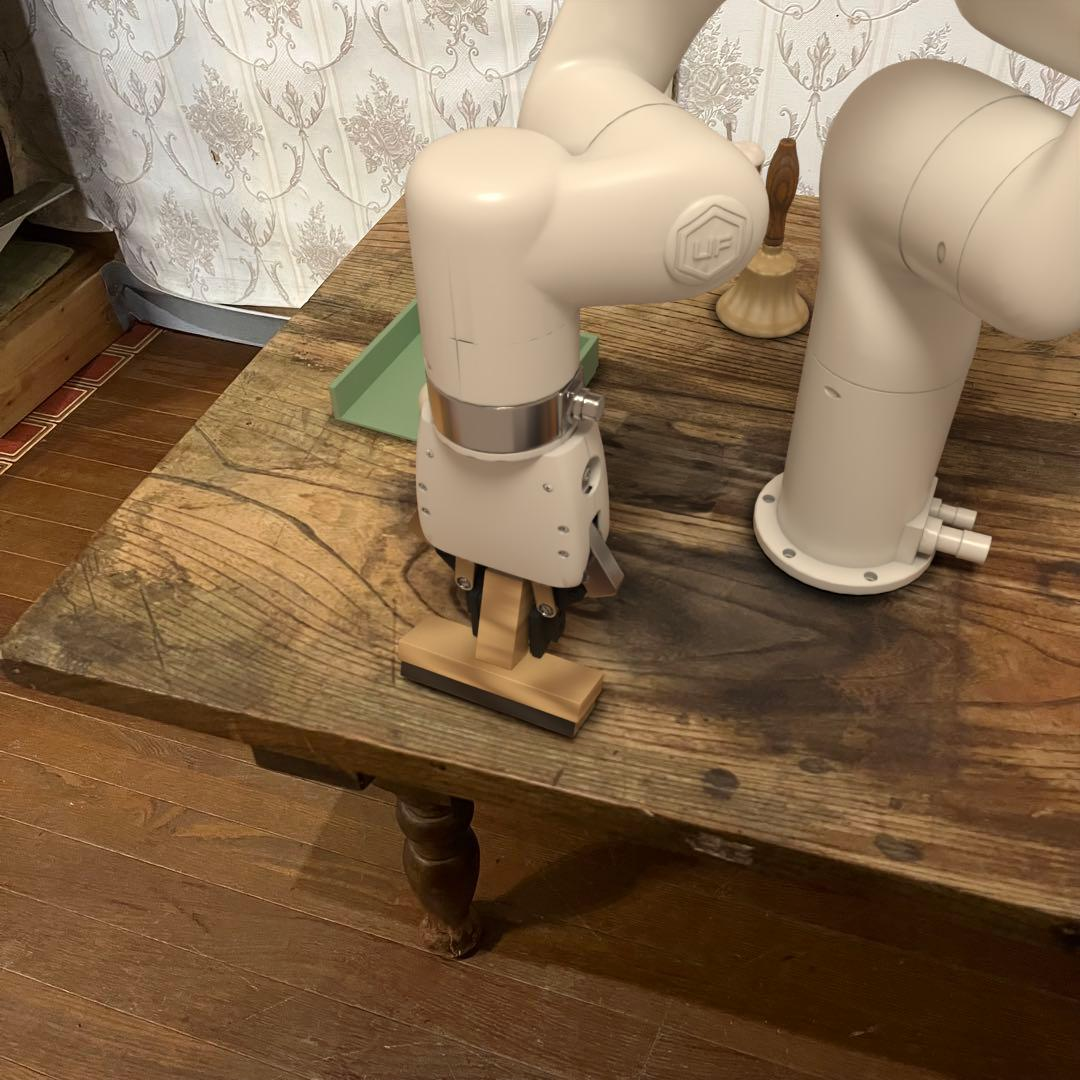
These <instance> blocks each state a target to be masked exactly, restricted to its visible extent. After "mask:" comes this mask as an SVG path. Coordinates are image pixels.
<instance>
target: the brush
mask: <svg viewBox="0 0 1080 1080" xmlns="http://www.w3.org/2000/svg"><path fill="white" fill-rule="evenodd" d="M534 604H535V596H534V591H533V586H532V581H531V580H528V579H525V578H522V577H519V576H515V575H512V574H509V573H506V572H503V571H500V570H497V569H493V568H490V567H488V568H487V569H486V570H485V577H484V585H483V594H482V603H481V611H480V620H479V629H478V637H476V636H474V635H473V632H472V626H468V625H464V624H462V623H459V622H456V621H453V620H451V619H447V618H444V617H441V616H438V615H435V614H433V613H429V614H428V615H427V616H426V617H425V618H423V619H422V620H421V621H420V622H418V624H416V625H415V626H413V628H411V629H410V630H408V632H406V633H405V634H404V635H403V636H402V637H401V638H399V640H398V643H397V656H396V659H397V660H398V661H400V673H399V675H400V676H401V677H403V678H407V679H409V680H412V681H415V682H417V683H421V684H422V685H425V686H429V687H431V688H434V689H436V690H439V691H441V692H445V693H448V694H451V695H454V696H456V697H459V698H462V699H465V700H468V701H470V702H472V703H476V704H478V705H481V706H484V707H486V708H490V709H492V710H494V711H498V712H501V713H502V714H503V713H504V714H506V715H509V716H511V717H515V718H516V719H520V720H523V721H526V722H528V723H531V724H534V725H536V726H539V727H542V728H544V729H547V730H550V731H553V732H556V733H559V734H561V735H564V736H567V737H569V738H573V737H575V735H576V734H577V732H578V731H579V730H580V728H581V727H582V725H583V724H584V723H585V721H586V720H587V719H588V717H589V716H590V715H591V713H592V711H594V709H595V705H596V700H597V698H598V696H599V695H600V693H601V692H602V688H603V684H604V679H605V678H604V677H605V672H604V671H602V670H598V669H595V668H592V667H589V666H587V665H583V664H582V663H579V662H574V661H572V660H569V659H566V658H563V657H560V656H557V655H554V654H551V653H548V652H545V653H544V654H543V656H542V658H537V657H534V656H532V653H530V646H529V623H528V615H529V612H530V610H531V609H532V607H533V605H534Z"/></svg>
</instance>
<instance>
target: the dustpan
mask: <svg viewBox="0 0 1080 1080" xmlns="http://www.w3.org/2000/svg"><path fill="white" fill-rule="evenodd" d="M599 353H600V336H599V335H597V334H593V333H588V332H585V331H580V365H581V366H584V375H583V381H584V384H585V386H586V387H587V386H588V384H589V383H590V382H591V380H592V378H593V377H594V376H595V374H596V373H597V368H598V367H599V363H600V362H599V361H600V359H599V355H600V354H599ZM426 383H427V381H426V373H425V364H424V356H423V347H422V339H421V331H420V322H419V314H418V305H417V297H416V296H415V297H414V298H413V299H412V300H411V301H410V302H409V303H408V304H407V305H406V306H405V307H404V308H403V309H402V310H400V312H399V313H398V314H397V315H396V316H395V317H394V318H393V320H391V322H389V324H388V325H387V326H385V328H384V329H383V330H382V331H380V333H379V334H378V335H377V336H376V337H374V339H373V340H371V342H370V343H369V344H368V345H367V346H366V347H365V348H364V349H363V350H362V351H361V352H360V353H359V354H358V355H357V356H356V357H355V358H354V360H352V361H351V362H350V364H349V365H347V366H346V368H345V369H344V370H343V371H342V372H341V373H340V374H339V375H338V376H337V377H335V379H334V380H333V381H332V382H331V383H329V385H328V386H327V388H328V393H329V397H330V402H331V406H332V407H331V408H332V411H333V415H334V416H333V417H334V420H337V421H341V422H344V423H347V424H350V425H353V426H358V427H361V428H365V429H369V430H373V431H375V432H379V433H383V434H386V435H389V436H393V437H397V438H402V439H404V440H407V441H410V442H411V441H412V442H414V443H417V437H418V429H419V422H420V416H421V413H420V410H419V406H418V397H419V393H420V391H421V389H422V387H423V386H424V385H425V384H426Z"/></svg>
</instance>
